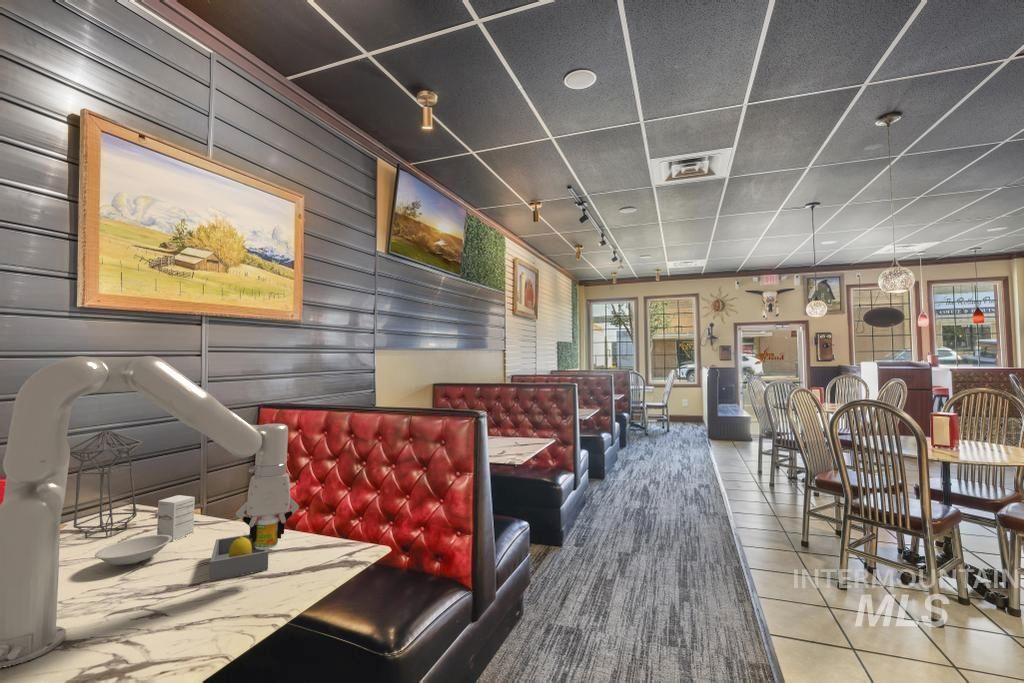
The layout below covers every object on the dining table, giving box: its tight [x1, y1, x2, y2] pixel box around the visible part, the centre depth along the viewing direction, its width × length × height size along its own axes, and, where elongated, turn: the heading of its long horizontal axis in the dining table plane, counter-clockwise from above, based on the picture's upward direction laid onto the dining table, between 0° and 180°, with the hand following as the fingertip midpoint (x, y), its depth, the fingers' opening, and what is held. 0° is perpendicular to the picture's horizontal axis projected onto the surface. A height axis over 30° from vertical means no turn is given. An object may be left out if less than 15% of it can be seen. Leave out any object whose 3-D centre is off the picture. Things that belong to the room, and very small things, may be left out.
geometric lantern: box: [70, 429, 145, 539], centre depth 155 cm, size 16×16×35 cm
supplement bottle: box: [255, 514, 280, 550], centre depth 122 cm, size 5×5×10 cm
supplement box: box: [156, 494, 196, 542], centre depth 152 cm, size 7×7×13 cm
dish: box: [94, 534, 172, 566], centre depth 131 cm, size 18×14×5 cm
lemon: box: [229, 537, 252, 558], centre depth 128 cm, size 6×6×8 cm
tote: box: [209, 533, 269, 582], centre depth 131 cm, size 18×14×5 cm
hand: (266, 538), depth 121 cm, fingers closed on supplement bottle, 5 cm apart
